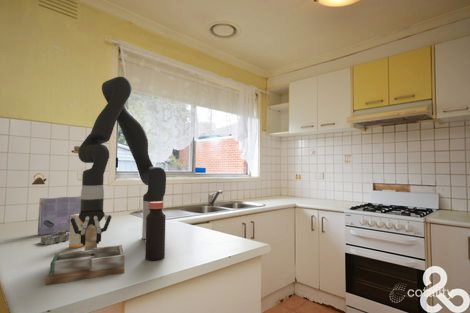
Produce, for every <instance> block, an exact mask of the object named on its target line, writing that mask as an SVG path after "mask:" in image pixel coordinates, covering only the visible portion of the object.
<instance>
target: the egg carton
mask: <svg viewBox="0 0 470 313" xmlns="http://www.w3.org/2000/svg"><path fill="white" fill-rule="evenodd" d="M69 235H70V232H67V231H66V232H65V231H63V230H59V231H57V232H56V233H52V234H48V235H44V236H41V237H38V238H39V239H40V244H41V245H42V244H44V245H45V246H48V245H54V244H56V242H57V243H62V242H63V241H64V242H65V241H69Z"/></svg>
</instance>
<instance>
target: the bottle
mask: <svg viewBox="0 0 470 313" xmlns="http://www.w3.org/2000/svg"><path fill="white" fill-rule="evenodd" d="M162 208H163V209H162ZM149 210H150V213H149V214H148V215H147V217H146V239H145V247H144V248H145V251H144V252H145V254H144V256H145V257H144V258H145V260H146V261H149V262H151V261H153V262H154V261H160V260H162V259H165V256H166V253H165V252H166V218H167V217H166V214H164V201H163V202H159V201H156V202H150V203H149ZM162 210H163V212H162Z"/></svg>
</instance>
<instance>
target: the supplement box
mask: <svg viewBox="0 0 470 313" xmlns="http://www.w3.org/2000/svg"><path fill="white" fill-rule="evenodd" d="M76 216H79V214H75V215H70V220H71V218H72V217H76ZM77 225H78V228H79V230H82V228H83V225H84V223H83V222H82V221H81V220H80V219H78V222H77ZM69 233H70V235H69V240H68V248H75V249H76V248H77V249H78V248H81V247H85V245H83V244H81V235H80V234H75V232H74V229H73V226H72V223H71V221H70V231H69Z"/></svg>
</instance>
